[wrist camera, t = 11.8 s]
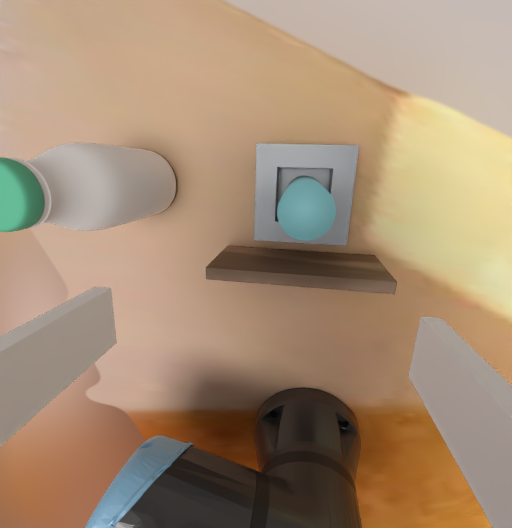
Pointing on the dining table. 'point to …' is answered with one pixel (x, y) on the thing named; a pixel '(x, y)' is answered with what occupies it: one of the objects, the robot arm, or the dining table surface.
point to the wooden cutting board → (302, 269)
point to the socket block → (299, 164)
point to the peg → (306, 209)
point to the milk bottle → (84, 187)
